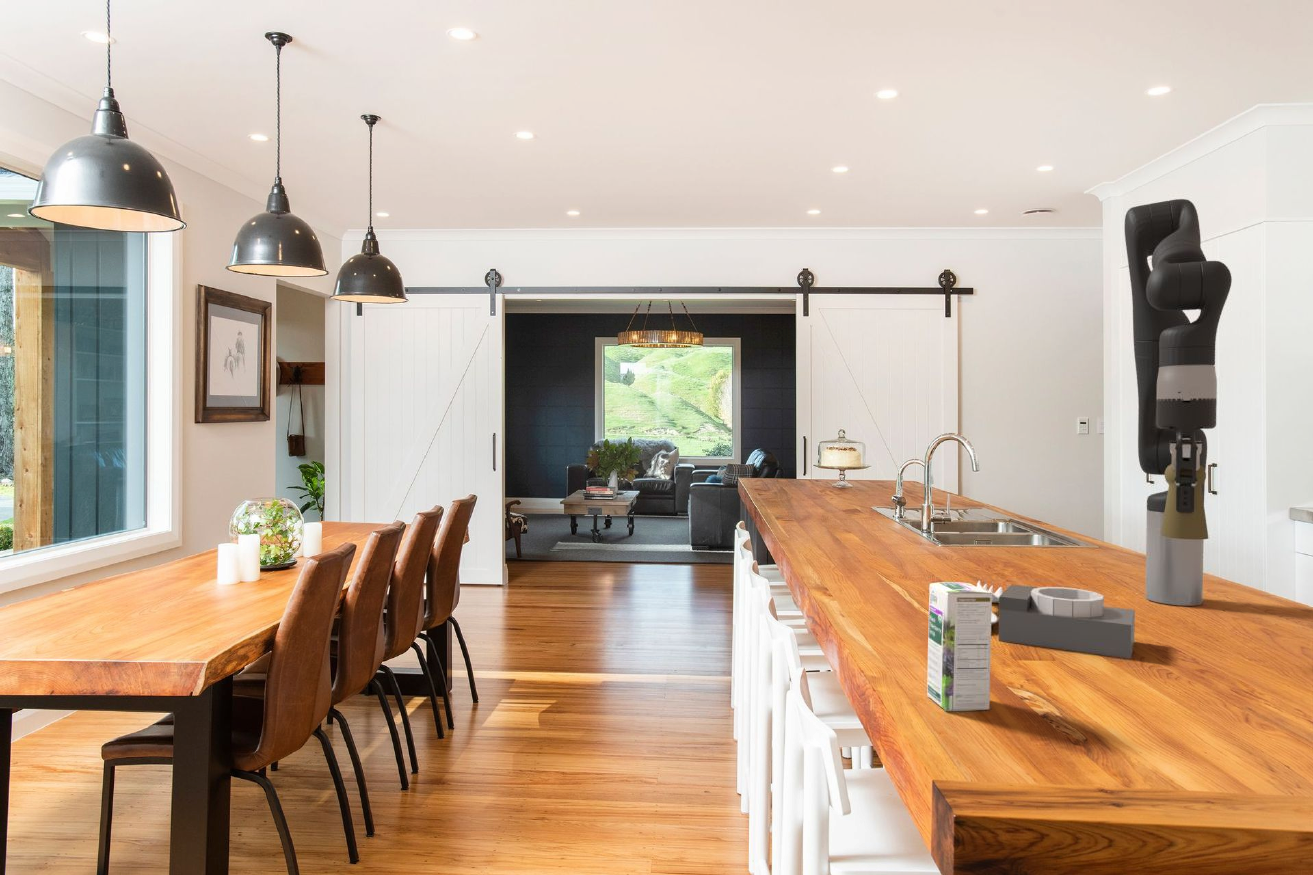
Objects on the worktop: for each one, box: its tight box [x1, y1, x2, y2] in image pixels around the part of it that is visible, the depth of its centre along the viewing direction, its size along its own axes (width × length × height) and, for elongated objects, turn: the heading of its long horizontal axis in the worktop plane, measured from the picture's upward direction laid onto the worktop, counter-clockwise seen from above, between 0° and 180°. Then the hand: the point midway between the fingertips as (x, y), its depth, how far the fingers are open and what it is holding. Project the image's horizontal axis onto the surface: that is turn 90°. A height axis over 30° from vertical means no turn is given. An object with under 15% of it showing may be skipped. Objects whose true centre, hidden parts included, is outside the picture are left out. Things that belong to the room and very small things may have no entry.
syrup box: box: [926, 581, 993, 712], centre depth 100 cm, size 6×6×14 cm
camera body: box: [998, 584, 1136, 660], centre depth 127 cm, size 11×18×8 cm, turn 57°
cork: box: [1161, 465, 1209, 540], centre depth 121 cm, size 6×6×11 cm
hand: (1184, 510), depth 121 cm, fingers closed on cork, 4 cm apart
